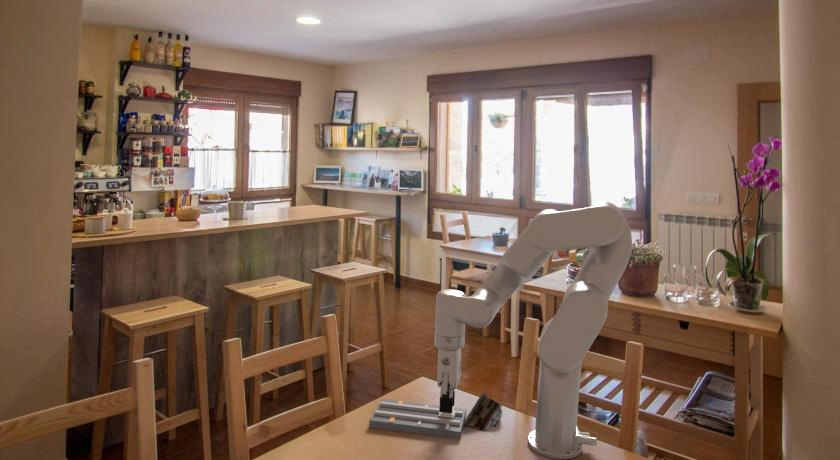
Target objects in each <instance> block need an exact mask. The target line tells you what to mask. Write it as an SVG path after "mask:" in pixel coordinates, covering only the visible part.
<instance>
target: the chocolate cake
mask: <svg viewBox="0 0 840 460" xmlns="http://www.w3.org/2000/svg"><path fill="white" fill-rule="evenodd" d="M502 407H503V405H502V404H501V403H499V402H498V401H496V400H495V399H493V398H492V397H489V396H487V393H486V387H485V388H484V390H483V391H482V393H481V395H480V396H479V398H478V399H477V400H476V402H475V404H474V406H473V407H472V408H471V410H470V412H469V413H468V414H467V415H466V417H465V421H464V424H463V428H464V427H469V425H470V426H471V427H473V428H475V429H478V430H480V431H481V432H482V431H483V432H485V431H486V430H487V429H489V428H490V427H492V428H497V424H496V422H497V421H501V419H502V415H503V409H502Z"/></svg>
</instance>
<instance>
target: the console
mask: <svg viewBox="0 0 840 460" xmlns="http://www.w3.org/2000/svg"><path fill="white" fill-rule="evenodd" d="M439 408H440V405H434V404H433V405H432V404H425V403H417V402H416V403H415V402H410V401H409V402H408V401H403V400H391V399H384V398H382V399H381V400H380V402H379V403H378V405H377V407H376V408H375V410H374V412H373V413H372V415H371V416H370V418H369V422H368V423H369V427H368V428H370V429H376V430H377V429H379V430H385V431H391V432H400V433H406V434H415V435H423V436H428V437H429V436H430V437H431V436H432V437H439V438H443V439H444V438H445V439H446V438H447V439H454V440H458V441H459V440H461V439H462V438H461V437H462V434H463V429H464V427H463V424H464V421H465V419H466V417H467V409H465V408H460V407H459V408H457V407H453V409H452V412H455V417H454V420H451V419H443V418H438V415H439V412H440V411H439Z"/></svg>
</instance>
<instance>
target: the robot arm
mask: <svg viewBox="0 0 840 460" xmlns="http://www.w3.org/2000/svg"><path fill="white" fill-rule="evenodd" d="M629 225H630V224H629V222H628V220H627V219H626V216H625V215H624V214H623V212H622V211H621V210H620V208H619V207H618V206H617V205H616V204H614V203H611V202H610V201H597V202H594V203H592V204H590V205H589V206H588V207H583V208H574V209H568V210H561V211H558V210H557V209H553V208H545V209H543V210H541V211H540V212H538V213H537V214H536V215H535V216H534V217H533V218H532V219H531V220H530V222H529V223H528V225H526V227H525V228H524V229H523V230H522V232H521V233H520V234H519V235H518V236H517V237H516V238H515V240H514V241H513V242H512V243H511V245H509V247H508V248H507V249H506V250H505V252H504V253H503V255H502V256H501V258H500V259H499V262H498V263H497V265H496V267H495V268H494V269H493V270H492V271H491V273H490V274H489V275H488V276H487V277H486V279H485V280H484V281H483V283H482V284H481V285H480V286H479V287H478V288H477V289H476V290H475V292H473V294H472V295H470V296H467V294H465V292H463V291H461V290H458V289H452V288H449V289H442V290H439V291H438V292H437V293H436V297H435V314H434V316H435V318H434V320H435V321H434V343H433V344H434V346H435V347H436V348H437V349H438V352H437V353H438V355H437V370H436V371H437V372H436V373H437V375H436V376H437V377H436V381H437V385H436V386H437V387H438V388H440V394H439V406H440V408H439V411H440V412H445V413H452V406H453V407H454V406H455V400H456V399H455V397H456V395H455V394H456V392H455V391H456V389H458V386H459V383H460V380H461V376H462V349H463V348H464V347H465V341H466V340H465V339H466V337H465V336H466V325H467V326H470V327H473V328H479V329H480V328H485V327H487V326H489V325H490V324H491V323H492V322H493V320H494V319H495V317H496V315H497V314H498V312H499V311H500V310H501V308H502V307H503V306H504V304H506V303H507V301H508V300H509V299H510V298H511V296H512V295H513V294H515V292H516V291H517V290H518V289H519V288H520V286H522V285H523V284H524V283H526V282H529V281H530V280H531V279H532V278H533V277H534V276H535V275H536V273H537V272H538V271H539V270H540V268H542V266H543V265H544V264H545V263H546V262H547V261H548V260H549V258H550V257H551V256H552V255H553V254H554V253H555V252H558V251H559V252H560V251H571V250H578V249H579V250H580V249H588V248H590V250H589V252H588V254H587V255H586V258H585V259H584V262H583V264H582V266H581V267H580V269H579V270H578V272H577V274H576V276H575V277H574V279H573V280H572V282H571V283H570V285H569V286H568V287H567V289H566V290H565V291H564V295H563V299H562V302H561V304H560V305H559V308H558V309H557V310H556V313H555V315H554V316H553V317H552V318H551V319H549V320H548V321H547V322H546V323H545V324H544V326H543V328H542V330H541V334H540V336H539V341H538V346H537V353H538V358H539V369H538V382H537V383H538V384H537V395H536V397H537V398H536V409H535V410H536V412H535V413H536V414H535V428H534V430H532V431H530V433H529V434H528V437H527V443H528V445H529V447H530V448H531V449H532V450H533V451H535V453H538V455H541V456H544V457H546V458H551V459H555V460H569V459H573V458H575V457H576V458H577V457H578V456H579V455H580V454H581V453H582V449H583V445H587V446H591V447H596V446H597V443H598V442H597V437H594V436H591V432H587V431H586V432H585V431H584V432H583V431H580V430H579V429H578V425H577V424H578V413H579V397H580V387H581V374H582V365H583V364H582V362H583V361H582V360H583V359H584V358H585V356H586V355H587V353H588V351H589V350H590V348H591V346H592V345H593V343H594V341H595V340H596V338H597V337H598V335H599V333H600V332H601V330H602V328H603V326H604V324H605V323H606V320H607V317H608V311H609V300H610V299H611V296H612V294H613V292H614V290H615V289H616V286H617V285H618V284H619V282H620V280H621V278H622V276H623V275H624V273H625V270H626V269H627V266H628V264H629V262H630V259H631V255H632V250H633V237H632V231H631V228H630V226H629ZM447 389H449V391H448V390H447ZM452 390H453V397H452Z"/></svg>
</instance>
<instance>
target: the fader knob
mask: <svg viewBox="0 0 840 460" xmlns="http://www.w3.org/2000/svg"><path fill="white" fill-rule="evenodd" d="M447 390H448V391H449V389H447ZM453 391H454V390H452V397H453ZM453 408H454V406H452V409H453ZM454 417H455V412H452V413H445V412H439V415H438V418H443V419H451V420H454Z"/></svg>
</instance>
